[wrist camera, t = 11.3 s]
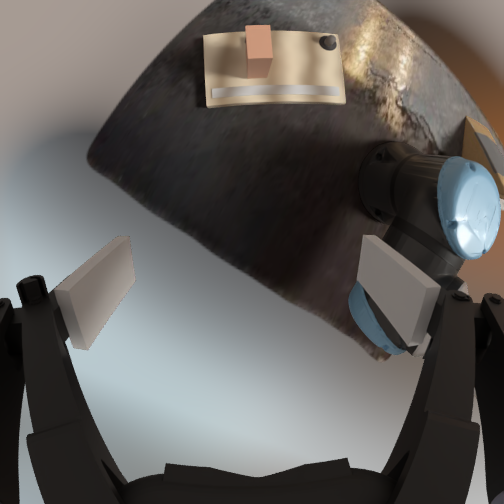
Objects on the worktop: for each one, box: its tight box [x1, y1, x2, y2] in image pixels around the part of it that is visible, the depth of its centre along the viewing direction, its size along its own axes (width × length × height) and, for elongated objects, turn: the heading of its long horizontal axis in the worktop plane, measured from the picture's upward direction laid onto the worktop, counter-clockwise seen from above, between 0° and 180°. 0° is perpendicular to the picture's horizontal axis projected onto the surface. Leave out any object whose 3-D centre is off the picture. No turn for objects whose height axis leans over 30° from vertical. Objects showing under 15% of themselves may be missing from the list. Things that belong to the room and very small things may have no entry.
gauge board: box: [203, 31, 346, 108], centre depth 37 cm, size 22×13×4 cm, turn 93°
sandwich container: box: [461, 116, 504, 199], centre depth 36 cm, size 9×15×15 cm, turn 172°
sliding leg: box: [246, 25, 273, 79], centre depth 31 cm, size 3×8×10 cm, turn 3°
